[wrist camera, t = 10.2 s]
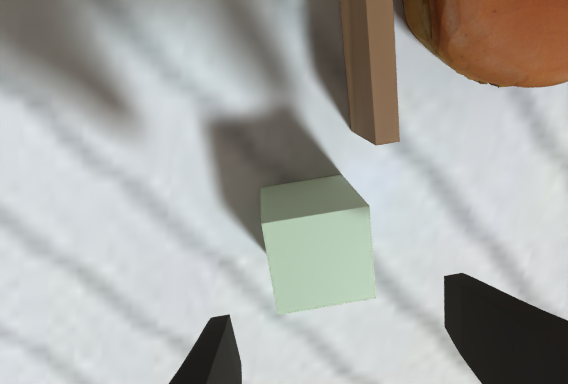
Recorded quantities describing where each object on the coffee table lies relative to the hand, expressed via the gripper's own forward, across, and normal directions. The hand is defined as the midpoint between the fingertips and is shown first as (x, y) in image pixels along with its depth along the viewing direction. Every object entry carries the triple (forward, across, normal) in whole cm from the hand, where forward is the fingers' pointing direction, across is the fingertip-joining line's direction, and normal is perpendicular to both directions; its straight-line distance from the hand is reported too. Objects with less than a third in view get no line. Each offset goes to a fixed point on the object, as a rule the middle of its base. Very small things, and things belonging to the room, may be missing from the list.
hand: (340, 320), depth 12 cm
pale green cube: (+9, 0, 0) cm, 9 cm away
